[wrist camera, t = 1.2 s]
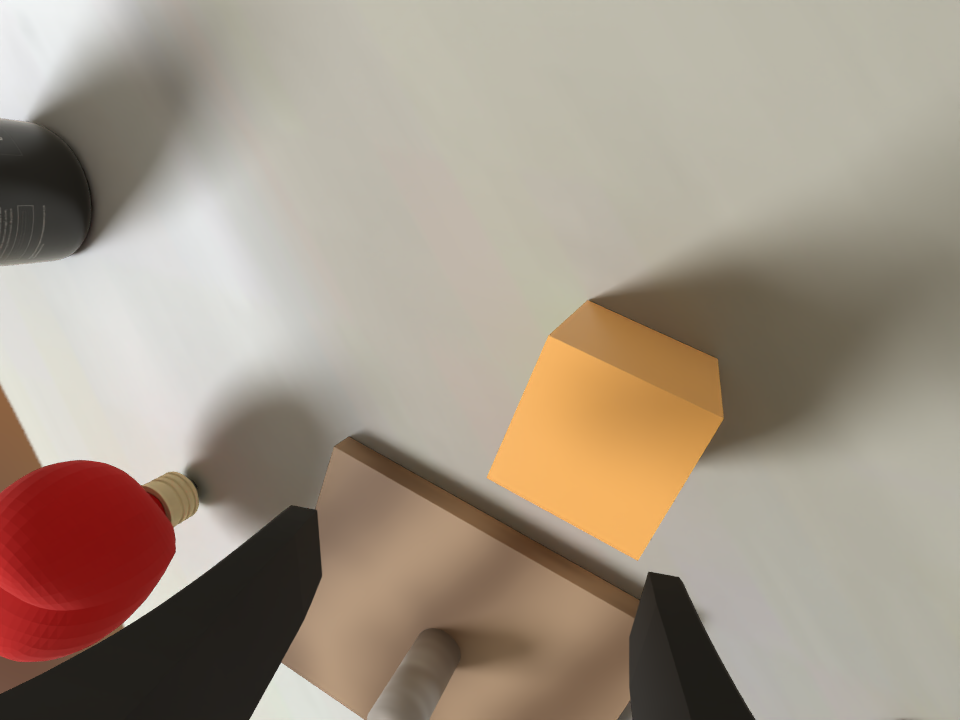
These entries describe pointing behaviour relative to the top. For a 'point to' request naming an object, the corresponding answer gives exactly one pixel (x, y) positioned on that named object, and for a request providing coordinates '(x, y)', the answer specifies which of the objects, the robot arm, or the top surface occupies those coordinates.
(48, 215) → the supplement bottle
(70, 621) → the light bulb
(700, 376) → the orange wooden cube
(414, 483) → the post board
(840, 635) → the top surface
